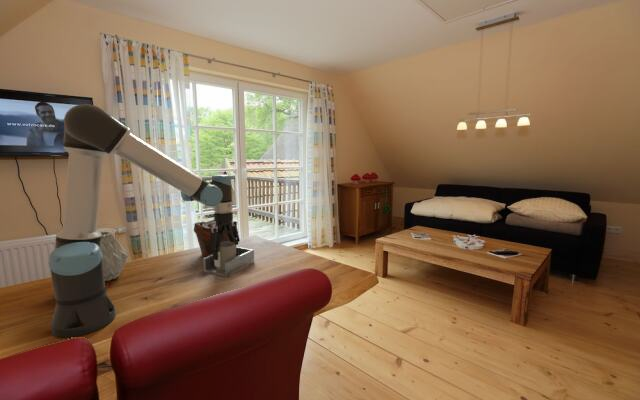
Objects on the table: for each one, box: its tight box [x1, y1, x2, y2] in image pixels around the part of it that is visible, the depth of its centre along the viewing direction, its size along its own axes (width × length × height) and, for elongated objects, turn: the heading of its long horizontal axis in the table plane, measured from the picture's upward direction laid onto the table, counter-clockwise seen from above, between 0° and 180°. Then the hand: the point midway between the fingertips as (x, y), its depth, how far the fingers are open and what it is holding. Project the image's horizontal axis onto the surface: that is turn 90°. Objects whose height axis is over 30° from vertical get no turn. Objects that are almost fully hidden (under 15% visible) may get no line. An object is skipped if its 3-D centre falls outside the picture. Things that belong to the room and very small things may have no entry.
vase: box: [99, 231, 130, 282], centre depth 119 cm, size 16×16×18 cm
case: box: [193, 219, 234, 258], centre depth 147 cm, size 18×20×18 cm
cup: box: [216, 242, 236, 270], centre depth 129 cm, size 8×8×10 cm
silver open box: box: [202, 246, 255, 278], centre depth 132 cm, size 18×12×6 cm
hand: (225, 262), depth 130 cm, fingers open, 9 cm apart
